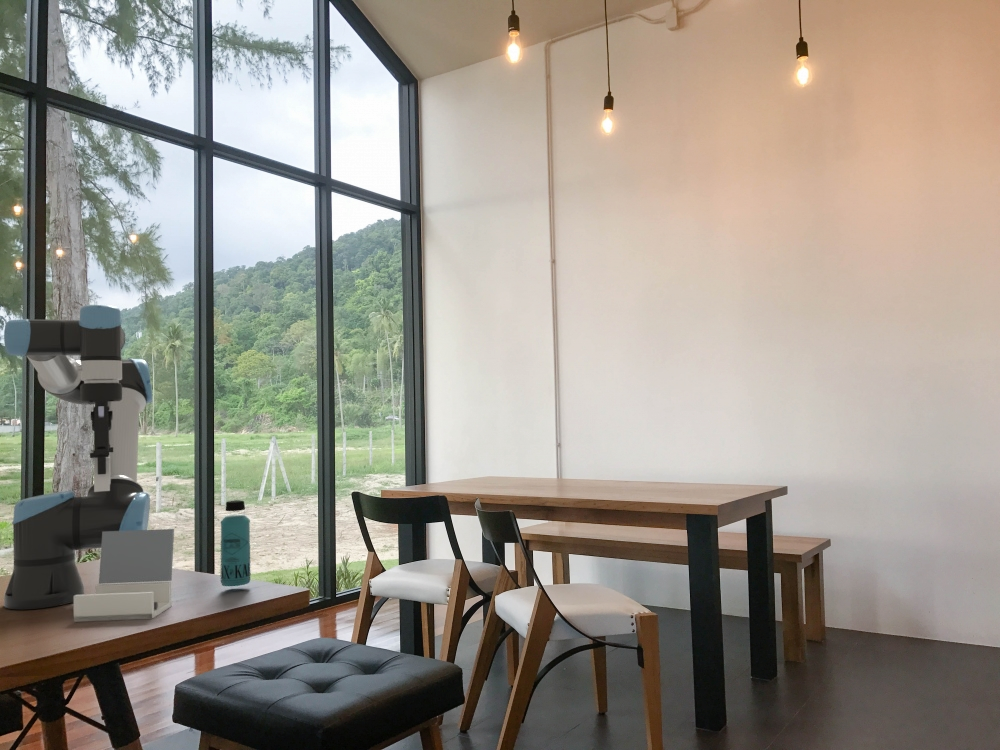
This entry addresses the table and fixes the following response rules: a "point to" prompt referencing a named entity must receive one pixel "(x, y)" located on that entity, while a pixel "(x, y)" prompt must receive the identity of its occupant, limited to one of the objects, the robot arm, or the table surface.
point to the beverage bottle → (235, 547)
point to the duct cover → (136, 556)
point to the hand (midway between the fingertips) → (102, 487)
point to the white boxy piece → (123, 602)
